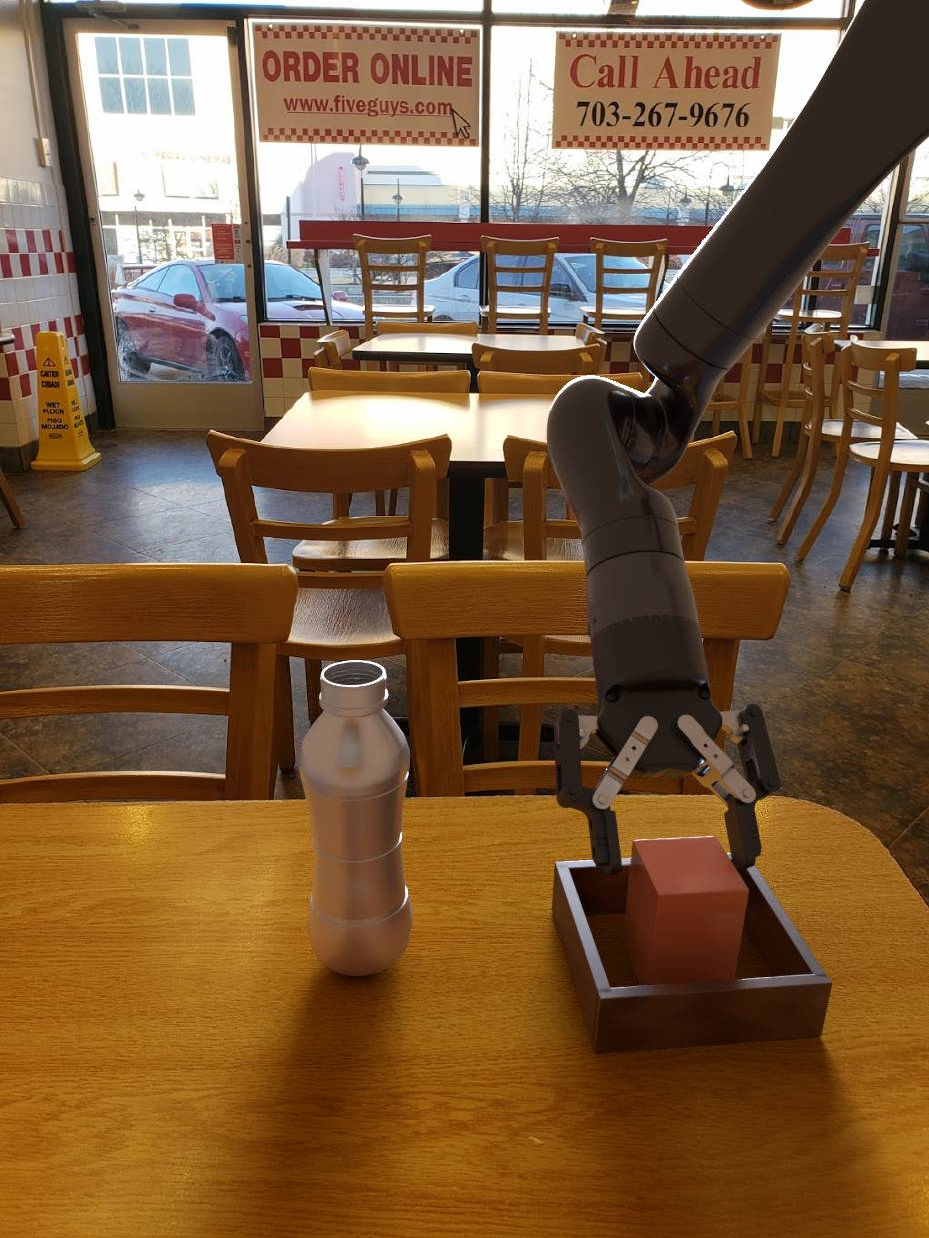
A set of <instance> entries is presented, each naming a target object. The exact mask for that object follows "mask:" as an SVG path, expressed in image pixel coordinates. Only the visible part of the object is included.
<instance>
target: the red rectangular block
mask: <svg viewBox="0 0 929 1238" xmlns="http://www.w3.org/2000/svg"><path fill="white" fill-rule="evenodd" d="M727 853H728V852H726V850H725V849H724V847H723V845H722V843H721V842H720V841H719V839H718V837H717V836H715V835H708V836H689V837H688V836H687V837H669V838H668V837H667V838H649V839H648V838H647V839H646V838H645V839H632V844H631V853H630V858H631V862H630V872H629V882H628V891H627V901H626V911H625V913H624V920H623V930H622V931H623V932H622V940H621V941H622V943H623V947H624V950H625V951H626V954H627V957H628V959H629V962H630V964H631V967H632V969H633V972H634V975H635V977H636V979H637V981H638V986H648V985H663V984H678V983H693V982H707V981H722V980H736V974H737V968H738V962H739V956H740V949H741V942H742V937H743V932H744V931H743V930H744V919H745V913H746V906H747V900H748V894H749V889H748V887H747V886H746V884H745V883H744V881H743V879H742V878H741V876H740V874H739V873H738V871H737V870H736V868H735V866H734V865H733V863H732V862H731V860H730V858H729V857H728V855H727Z"/></svg>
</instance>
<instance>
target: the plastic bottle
mask: <svg viewBox="0 0 929 1238" xmlns="http://www.w3.org/2000/svg"><path fill="white" fill-rule="evenodd" d="M318 703H319V707H320V708H321V709H322V710H323V711H322V713H320V715H319V716H318V717H317V719H316V720H315V721H314V722H313V723H312V724H311V727H310V728H309V730H308V731H307V733H306V734H305V736H304V737H303V738H302V740H301V743H300V748H299V752H298V756H297V763H298V770H299V775H300V779H301V784H302V788H303V792H304V797H305V802H306V807H307V810H308V815H309V826H310V834H311V839H312V840H311V843H312V850H313V863H312V864H313V865H312V884H311V885H312V887H311V895H310V899H309V904H308V913H307V921H306V929H307V935H308V939H309V942H310V946H311V950H312V951H313V953H314V956H315V957H316V958H317V959H318V960H319V962H321V963H322V964H323V965H324V966H325V967H327V968H328V969H329V970H331V971H332V972H335V973H338V974H339V975H344V976H350V977H364V976H369V975H374V974H378V973H380V972H383V971H385V970H386V969H388V968H390V967H391V966H392V965H394V964H395V963H396V962H397V961H398V960H399V959H400V957H402V955H403V954H404V953H405V952H406V950H407V948H408V946H409V943H410V939H411V935H412V934H411V933H412V930H413V924H414V916H413V915H414V914H413V910H412V904H411V899H410V895H409V891H408V888H407V885H406V877H405V875H406V874H405V867H404V866H405V865H404V857H403V850H402V844H403V843H402V841H403V840H402V839H403V836H402V835H403V822H404V821H403V818H404V805H405V798H406V792H407V786H408V779H409V770H410V761H411V751H410V747H409V744H408V741H407V738H406V736H405V733H404V732H403V730H402V729H401V728H400V726H399V725H398V724H397V723H396V721H395V720H394V718H392V716H391V715H390V714H389V713H388V711H386V710H385V709H384V708H385V707H386V706H387V704H388V703H389V693H388V690H387V673H386V668H384V667H383V666H382V665H380V664H378V663H376V662H372V661H366V660H346V661H339V662H336V663H332V664H330V665H328V666H327V667H325V668H324V669H322V671H321V674H320V693H319V696H318Z"/></svg>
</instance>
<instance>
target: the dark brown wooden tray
mask: <svg viewBox="0 0 929 1238" xmlns="http://www.w3.org/2000/svg"><path fill="white" fill-rule="evenodd" d="M726 853H727V855H728V857H729V858H730V860H731V862H732V858H731V853H730V852H726ZM621 860H622V871H621V872H620V873H619V874H617V875H609V876H605V875H604V873H603V866H597V867H596V865H595V863H594V861H593V859H587V860H568V861H555V862H554V870H553V882H552V883H553V884H552V897H551V898H552V900H551V912H552V916H553V918H554V919H553V920H554V923H555V925H556V929H557V932H558V935H559V938H560V942H561V945H562V949H563V951H564V952H563V953H564V956H565V958H566V961H567V965H568V968H569V971H570V975H571V978H572V981H573V985H574V988H575V991H576V995H577V998H578V1001H579V1004H580V1008H581V1011H582V1014H583V1017H584V1021H585V1025H586V1027H587V1031H588V1034H589V1037H590V1040H591V1044H592V1047H593V1051H594V1053H595V1054H604V1053H619V1052H633V1051H644V1050H645V1051H646V1050H655V1049H656V1050H658V1049H671V1048H672V1049H673V1048H683V1047H685V1048H686V1047H698V1046H699V1047H700V1046H709V1045H710V1046H713V1045H724V1044H738V1043H751V1042H752V1043H753V1042H764V1041H765V1042H766V1041H777V1040H792V1039H805V1038H813V1037H814V1038H817V1037H822V1036H823V1035H822V1034H823V1030H824V1025H825V1021H826V1016H827V1011H828V1006H829V1001H830V997H831V991H832V987H833V981H832V980H831V979H830V977H829V976H828V974H827V973H826V971H825V970H824V969H823V966H822V965H821V964H820V962H819V961H818V959H817V958H816V957H815V954H814V953H813V951H812V950H811V949H810V947H809V945H808V944H807V942H806V941H805V939H804V938H803V936H802V934H801V933H800V932H799V930H798V929H797V927H796V925H795V923H794V922H793V921H792V920H791V919H792V918H790V916H789V914H788V913H787V912H786V910H785V908H784V907H783V906H782V904H781V902H780V901H779V899H778V897H777V896H776V895H775V893H774V892H773V891H772V889H771V887H770V886H769V884H768V883H767V881H766V880H765V878H764V876H763V875H762V873H761V872H760V871H759V869H758V867H757V866H756V864H755V865H754V866H752V867H750V868H748V869H737V871H738V873H739V874H740V876H741V878H742V879H743V881H744V883H745V884H746V886H747V887H748V889H749V894H748V900H747V906H746V913H745V919H744V925H743V927H744V928H745V930H746V931H747V933H748V935H749V936H750V938H751V939H752V941H753V943H754V945H755V947H756V949H757V950H758V951H759V953H760V956H761V957H762V959H763V960H764V962H765V964H766V966H767V967H768V969H769V971H770V972H771V974H772V976H769V977H754V978H753V977H752V978H740V979H739V978H737V979H735V980H722V981H707V982H693V983H678V984H663V985H648V986H640V985H635V986H633V985H632V986H620V987H611V985H610V982H609V980H608V977H607V974H606V971H605V967H604V966H603V963H602V960H601V957H600V954H599V950H598V948H597V944H596V943H595V939H594V936H593V934H592V931H591V928H590V925H589V923H588V920H587V916H588V915H590V916H591V915H606V914H607V915H608V914H623V913H624V914H625V911H626V901H627V891H628V882H629V872H630V862H631V857H627V858H621Z"/></svg>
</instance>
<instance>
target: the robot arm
mask: <svg viewBox="0 0 929 1238" xmlns="http://www.w3.org/2000/svg"><path fill="white" fill-rule="evenodd" d="M928 138H929V0H862V2H861V4H860V6H859V8H858V9H857V11H856V13H855V15H854V17H853V18H852V21H851V22H850V24H849V26H848V28H847V30H846V31H845V33H844V35H843V36H842V39H841V41H840V42H839V44H838V46H837V48H836V50H835V51H834V53H833V55H832V57H831V58H830V60H829V62H828V64H827V66H826V68H825V69H824V71H823V72H822V74H821V76H820V78H819V80H818V81H817V83H816V84H815V86H814V89H813V90H812V92H811V93H810V94H809V96H808V98H807V99H806V101H805V103H804V104H803V106H802V107H801V109H800V111H799V112H798V114H797V115H796V116H795V118H794V119H793V122H791V124H790V126H789V127H788V129H787V130H786V132H785V133H784V134H783V136H782V138H781V139H780V141H779V142H778V144H777V145H776V147H775V148H774V149H773V151H772V152H771V154H770V155H769V157H768V158H767V159H766V161H765V162H764V163H763V165H762V166H761V168H760V169H759V170H758V172H756V174H755V176H754V177H753V178H752V179H751V181H750V182H749V183H748V184H747V186H746V187H745V189H744V190H743V191H742V192H741V193H740V195H739V196H738V197H737V199H736V200H735V201H734V202H733V204H732V205H731V206H730V207H729V209H727V211H726V212H725V214H723V216H722V217H721V219H720V220H719V221H718V222H717V223H716V224H715V226H714V227H713V229H712V230H711V231H710V232H709V234H708V235H707V236H706V238H704V240H703V241H702V242H701V244H700V245H699V246H698V247H697V249H696V250H695V251H694V253H693V254H692V255H691V256H690V258H689V259H688V260H687V262H686V263H684V265H683V266H682V268H681V269H680V270H679V271H678V273H677V274H676V275H675V277H674V278H673V280H672V281H671V283H669V285H668V286H667V288H666V289H665V290H664V291H663V293H662V294H661V295H660V297H658V300H657V301H656V302H655V303H654V305H653V307H652V308H651V309H650V310H649V312H648V313H647V314H646V316H645V317H644V319H642V321H641V323H640V325H639V326H638V327H637V330H636V332H635V335H634V339H633V347H634V351H635V354H636V356H637V358H638V360H639V361H640V363H641V364H642V365H643V367H644V368H645V369H646V370H647V371H648V372H649V373H650V374H651V375H652V376H654V377H655V378H654V381H653V383H652V385H651V386H650V388H648V390H647V391H645V393H643V392H640V391H638V390H636V389H633V388H630V387H628V386H626V385H623V384H620V383H618V382H616V381H613V380H610V379H608V378H605V377H600V376H595V375H587V376H586V375H585V376H580V377H577V378H575V379H573V380H571V381H569V382H568V383H566V385H564V386H563V388H561V390H559V392H558V393H557V395H556V396H555V398H554V400H553V401H552V404H551V406H550V409H549V412H548V416H547V421H546V445H547V451H548V455H549V459H550V462H551V465H552V469H553V471H554V473H555V476H556V478H557V481H558V483H559V485H560V488H561V491H562V492H563V496H564V497H565V500H566V503H567V506H568V507H569V510H570V512H571V514H572V516H573V518H574V520H575V522H576V524H577V526H578V529H579V532H580V537H581V548H582V554H583V562H584V571H585V579H586V616H587V624H586V629H587V635H588V637H589V640H590V648H591V655H592V662H593V664H592V665H593V671H594V672H593V673H594V679H595V680H594V681H595V689H596V696H597V702H598V710H597V714H596V715H586V714H585V715H584V714H582V715H581V714H578V713H577V711H575V710H574V709H570V708H567V709H564V710H563V711H561V713H560V715H559V717H558V718H557V720H556V722H555V723H554V725H553V746H554V747H553V748H554V771H555V793H556V795H555V796H556V802H557V804H558V806H559V807H561V808H563V809H569V808H570V809H573V810H575V811H578V812H581V813H582V814H584V815H585V817H586V819H587V825H588V833H589V842H590V849H591V857H592V858H591V860H593V861H594V863H595V865H596V867H597V866H603V873H604V875H605V876H609V875H617V874H619V873H620V872H621V871H622V860H621V859H622V854H621V846H620V837H619V830H618V821H617V814H616V810H611V805H612V803H613V801H614V800H615V798H616V796H617V795H618V793H619V791H621V788H622V786H623V785H624V784H625V782H626V781H627V779H628V778H629V776H630V775H632V776H634V777H637V778H638V781H640V780H651V779H654V778H658V777H666V778H669V779H685V778H686V777H687V776H690V775H691V776H693V777H694V778H695V779H696V781H698V782H699V784H701V786H703V787H704V788H706V789H709V790H710V791H711V792H712V793H713V794H714V796H716V797H717V798H718V799H719V800H720V801H721V803H722V804H724V806H725V807H726V808H727V811H726V810H725V811H724V812H723V818H724V822H725V823H724V824H725V828H726V834H727V840H728V846H729V851H730V852H729V853H731V858H732V863H733V865H734V866H735V868H736V870H737V869H748V868H750V867H752V866H754V865H755V866H756V861H757V860H756V858H758V857H760V856H761V853H762V848H763V847H762V841H761V836H760V831H759V830H760V829H759V825H758V819H757V814H756V805H757V803H758V801H759V802H760V801H763V800H765V799H766V798H767V797H768V796H770V795H772V794H774V793H776V792H778V791H779V790H780V789H781V785H782V783H781V779H780V774H779V772H778V771H779V770H778V767H777V763H776V759H775V756H774V752H773V749H772V744H771V740H770V735H769V733H768V732H769V731H768V728H767V724H766V721H765V716H764V713H763V710H762V708H761V707H760V706H759V705H758V704H756V703H750V704H748V705H747V706H745V707H743V708H741V709H736V710H735V709H734V710H725V711H720V710H719V709H718V707H716V705H715V703H714V701H713V699H712V695H711V683H710V678H709V672H708V665H707V661H706V660H707V659H706V656H705V655H706V654H705V649H704V643H703V637H702V632H701V626H700V620H699V614H698V609H697V604H696V599H695V594H694V590H693V586H692V583H691V580H690V577H689V574H688V571H687V568H686V562H685V556H684V550H683V549H684V548H683V545H682V539H681V532H680V528H679V527H680V526H679V522H678V518H677V515H676V511H675V508H674V506H673V503H672V501H670V499H669V498H668V497H667V496H666V495H665V494H664V493H662V492H661V491H660V490H658V489H657V488H656V487H654V486H653V484H655V483H657V482H659V481H661V480H662V479H664V478H665V477H666V476H667V475H669V474H670V473H671V472H672V471H673V470H674V469H675V468H676V467H677V465H678V464H679V462H680V461H681V460H682V458H683V456H684V454H685V453H686V452H687V449H688V447H689V445H690V443H691V441H692V438H693V436H694V434H695V432H696V430H697V429H698V426H699V424H700V422H701V420H702V418H703V417H704V414H705V412H706V410H707V409H708V406H709V405H710V402H711V400H712V398H713V395H714V393H715V391H716V389H717V388H718V385H719V384H720V382H721V381H722V379H723V378H724V377H725V376H726V375H727V374H728V373H729V371H730V370H731V369H732V368H733V367H734V366H735V365H736V363H737V362H739V360H740V359H741V357H742V356H743V355H744V354H745V353H746V352H747V351H748V349H750V347H751V346H752V345H753V344H754V342H756V340H757V339H758V337H760V335H761V334H762V333H763V332H764V331H765V329H766V328H767V327H768V326H769V325H770V323H771V322H772V321H773V320H774V318H775V317H776V316H777V315H778V314H779V312H780V311H781V310H782V308H783V307H784V306H785V304H786V303H787V302H788V301H789V300H790V298H791V297H792V296H793V294H794V292H795V291H796V290H797V289H798V287H799V286H800V285H801V284H802V282H803V281H804V279H805V278H806V277H807V275H808V274H809V272H810V271H811V270H812V268H813V267H814V266H815V264H816V263H817V262H818V260H819V259H820V257H821V256H822V255H823V254H824V252H825V250H826V249H827V248H828V247H829V245H830V244H831V242H832V241H833V240H834V239H835V237H837V235H838V233H839V232H840V231H841V230H842V228H843V227H844V226H845V224H846V223H847V222H848V221H849V220H850V219H851V217H852V216H853V215H855V213H856V212H857V210H858V209H859V208H860V207H861V206H862V205H863V204H864V203H865V201H867V199H868V198H869V197H870V196H871V195H872V193H874V192H875V191H876V189H877V188H878V187H879V186H880V185H881V184H882V183H883V182H884V181H885V179H887V178H888V176H890V174H891V173H892V172H893V171H894V170H895V169H897V168H898V166H899V165H900V164H901V163H902V162H904V161H905V159H907V157H909V156H910V155H911V154H912V153H913V152H914V151H915V150H916V149H917V148H919V146H920V145H922V144H923V143H924V142H925V141H926V140H927V139H928ZM721 730H723V731H724V732H725V733H726V734H727V736H728V738H729V740H730V741H731V742H733V743H734V744H737V748H738V753H739V757H740V761H741V765H742V769H743V774H744V777H745V778H744V777H743V775H742V774H741V773H739V772H738V770H737V769H736V768H735V764H734V762H733V761H732V759H731V758H730V757H729V756H728V755H727V754H726V753H725V752H724V751H723V750H722V749H721V748H720V747H719V746H718V744H716V743H715V741H716V739H717V736H718V735H719V733H720V732H721ZM591 734H595V736H596V738H598V740H599V741H600V742H601V743H602V745H604V747H605V748H606V749H607V750H608V751H609V753H611V755H612V756H613V757H612V759H611V760H610V761H609V764H608V765H607V766H606V768H605V769H604V771H603V773H602V775H601V776H600V778H599V780H598V781H597V783H596V785H595V787H594V789H593V788H589V787H587V786H583V777H582V773H583V772H582V758H581V757H582V756H581V755H582V754H581V750H582V749H583V748H584V747H585V746H586V745H587V744H588V742H589V740H590V735H591Z"/></svg>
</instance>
